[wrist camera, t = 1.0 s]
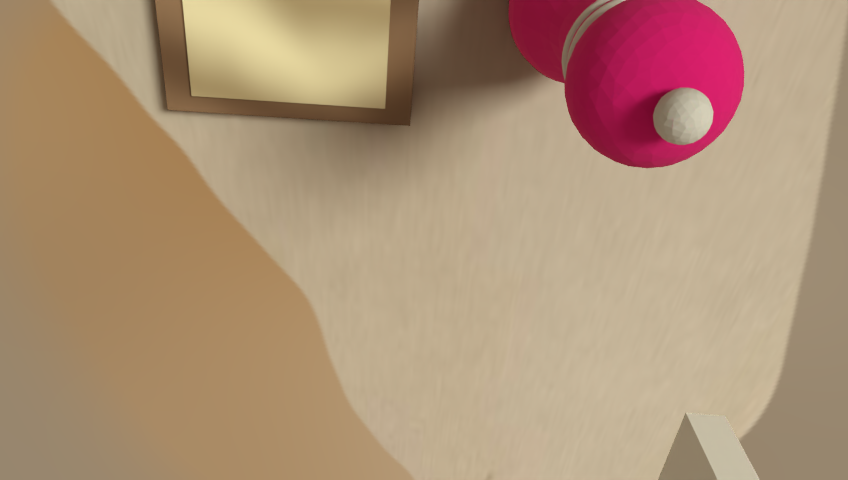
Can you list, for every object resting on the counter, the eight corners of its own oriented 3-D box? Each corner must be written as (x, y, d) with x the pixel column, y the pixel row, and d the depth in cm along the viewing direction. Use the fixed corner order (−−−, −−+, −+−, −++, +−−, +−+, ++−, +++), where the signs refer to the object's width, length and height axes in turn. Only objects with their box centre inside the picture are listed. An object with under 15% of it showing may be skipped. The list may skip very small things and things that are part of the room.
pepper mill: (656, -4, 38) (856, 134, 21) (551, 81, 41) (654, 268, 24) (580, -114, 36) (741, -55, 18) (472, -14, 38) (525, 118, 21)
